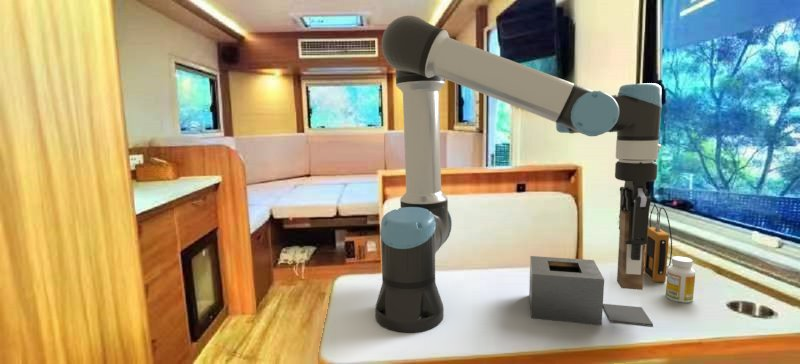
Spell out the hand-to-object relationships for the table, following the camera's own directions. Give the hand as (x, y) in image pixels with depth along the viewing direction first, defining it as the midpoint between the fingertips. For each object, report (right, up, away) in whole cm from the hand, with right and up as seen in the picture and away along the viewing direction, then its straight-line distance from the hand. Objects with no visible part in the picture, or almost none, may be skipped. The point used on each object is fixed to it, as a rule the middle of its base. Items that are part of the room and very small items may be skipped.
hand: (630, 269), depth 88 cm
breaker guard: (-12, -10, +5) cm, 17 cm away
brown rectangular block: (0, -4, +1) cm, 4 cm away
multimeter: (+22, -7, +21) cm, 31 cm away
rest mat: (0, -10, +2) cm, 10 cm away
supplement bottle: (+17, -9, +9) cm, 21 cm away
